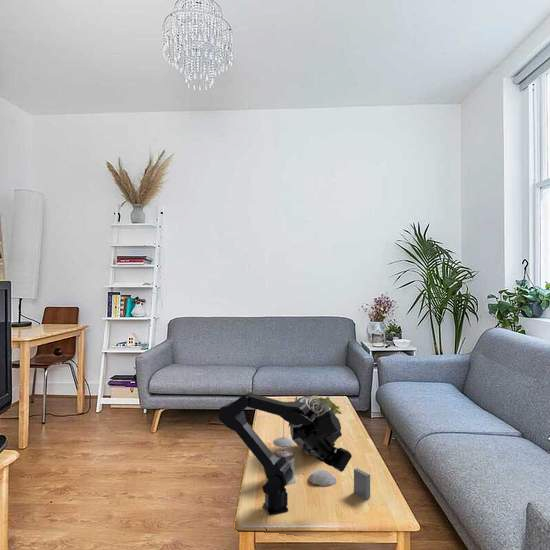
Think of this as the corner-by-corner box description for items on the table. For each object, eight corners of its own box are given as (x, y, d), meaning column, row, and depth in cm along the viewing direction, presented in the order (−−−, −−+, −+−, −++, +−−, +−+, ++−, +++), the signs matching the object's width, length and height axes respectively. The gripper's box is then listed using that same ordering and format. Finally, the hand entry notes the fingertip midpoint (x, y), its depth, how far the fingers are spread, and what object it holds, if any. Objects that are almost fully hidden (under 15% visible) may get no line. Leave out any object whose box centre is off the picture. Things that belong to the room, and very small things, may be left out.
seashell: (301, 473, 155) (317, 459, 163) (304, 487, 156) (319, 472, 163) (324, 481, 148) (339, 466, 156) (326, 495, 149) (341, 479, 157)
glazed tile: (366, 499, 142) (366, 475, 142) (353, 492, 147) (353, 469, 147) (370, 498, 143) (370, 474, 143) (358, 490, 148) (358, 467, 148)
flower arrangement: (309, 468, 166) (309, 406, 166) (274, 447, 186) (274, 392, 187) (355, 454, 179) (355, 397, 180) (318, 436, 200) (318, 385, 201)
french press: (295, 473, 162) (296, 407, 162) (297, 487, 150) (297, 417, 150) (270, 473, 162) (270, 407, 162) (270, 487, 150) (270, 417, 150)
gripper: (347, 425, 129) (372, 454, 135) (309, 410, 145) (333, 436, 150) (327, 457, 124) (354, 485, 130) (290, 438, 140) (316, 463, 146)
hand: (339, 465), depth 139 cm, fingers closed
